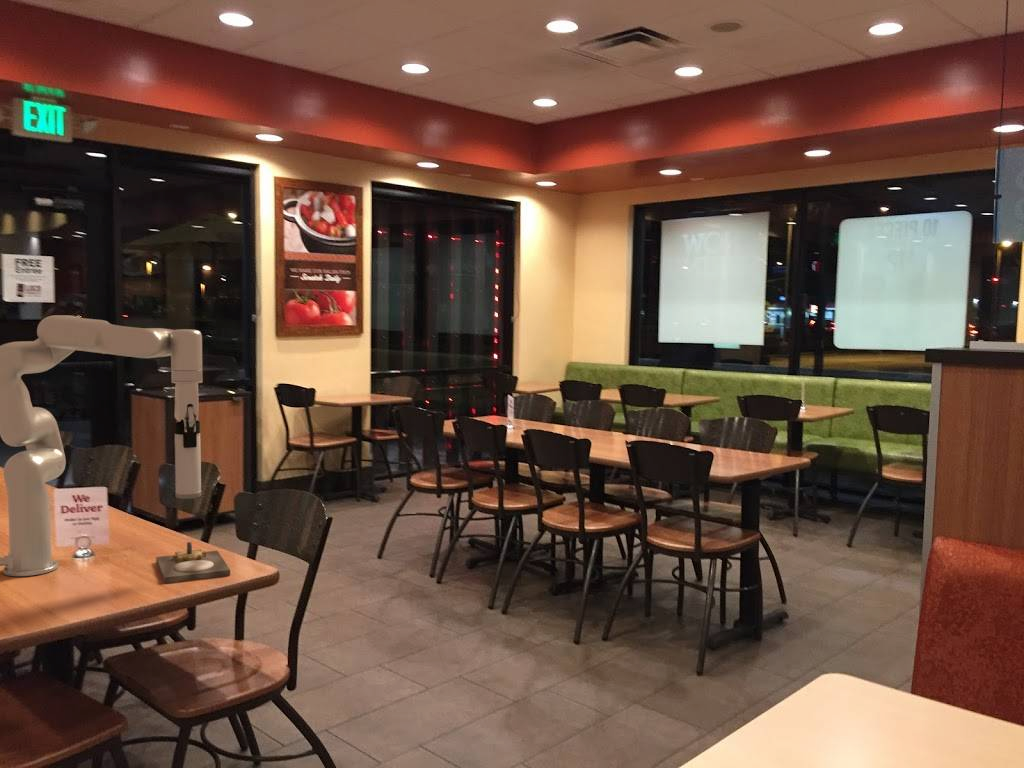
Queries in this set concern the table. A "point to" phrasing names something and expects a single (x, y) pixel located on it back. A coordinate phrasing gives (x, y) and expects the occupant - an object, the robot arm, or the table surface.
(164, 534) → the table surface
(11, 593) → the table surface
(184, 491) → the travel mug
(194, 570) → the grey sink model
